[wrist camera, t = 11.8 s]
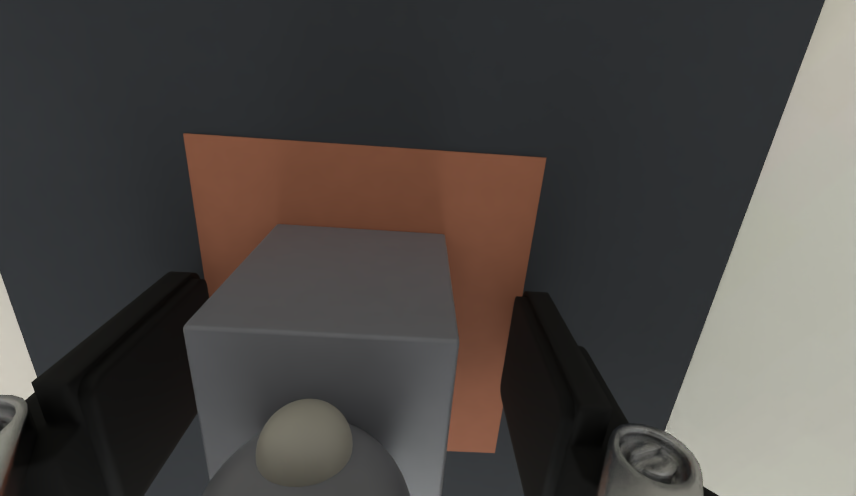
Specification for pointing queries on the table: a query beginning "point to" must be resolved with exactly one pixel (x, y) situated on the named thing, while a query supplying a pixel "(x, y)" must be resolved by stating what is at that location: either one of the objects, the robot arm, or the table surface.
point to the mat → (397, 167)
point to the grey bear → (328, 366)
